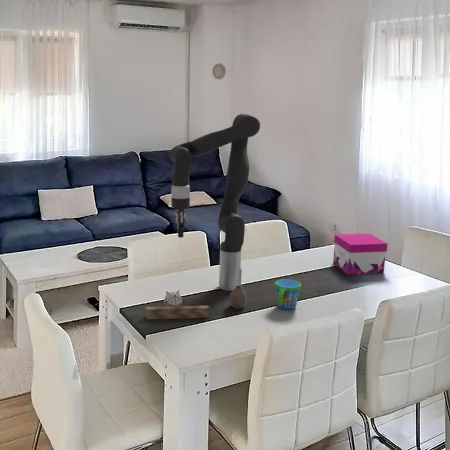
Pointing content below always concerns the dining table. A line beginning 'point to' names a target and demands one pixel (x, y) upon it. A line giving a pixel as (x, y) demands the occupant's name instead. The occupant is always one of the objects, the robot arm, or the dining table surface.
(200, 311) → the board
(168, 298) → the game die
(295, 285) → the snack cup
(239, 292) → the vase
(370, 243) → the decorative box
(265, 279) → the dining table surface
